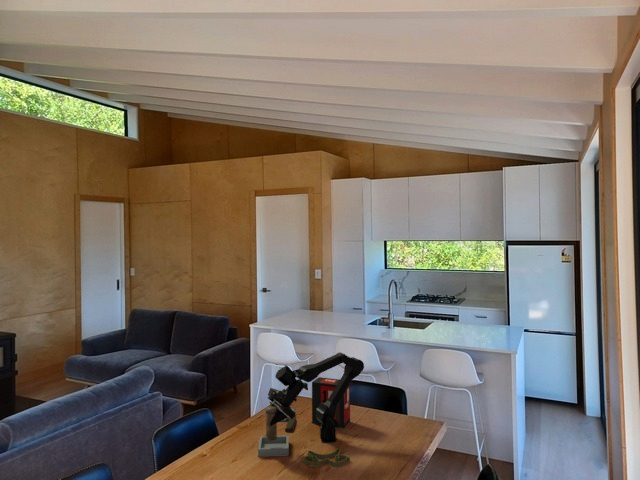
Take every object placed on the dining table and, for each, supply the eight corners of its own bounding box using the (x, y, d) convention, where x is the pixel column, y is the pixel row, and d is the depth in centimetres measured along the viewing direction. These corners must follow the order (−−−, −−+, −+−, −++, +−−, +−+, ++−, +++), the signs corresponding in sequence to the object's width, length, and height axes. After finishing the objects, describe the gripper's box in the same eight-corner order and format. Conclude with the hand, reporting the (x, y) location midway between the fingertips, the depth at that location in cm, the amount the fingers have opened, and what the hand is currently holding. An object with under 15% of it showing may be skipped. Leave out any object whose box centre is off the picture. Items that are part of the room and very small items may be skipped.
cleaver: (296, 432, 207) (296, 427, 207) (275, 433, 206) (275, 428, 206) (294, 410, 236) (294, 406, 236) (275, 411, 235) (275, 406, 235)
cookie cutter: (344, 452, 187) (344, 447, 187) (351, 466, 175) (351, 460, 175) (302, 455, 184) (302, 451, 184) (306, 470, 172) (306, 465, 172)
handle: (278, 436, 188) (277, 406, 189) (275, 440, 184) (275, 410, 184) (267, 435, 189) (267, 406, 189) (264, 440, 185) (264, 410, 185)
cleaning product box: (350, 421, 219) (349, 380, 219) (344, 428, 211) (343, 385, 211) (319, 416, 225) (318, 377, 225) (312, 423, 217) (311, 382, 217)
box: (288, 442, 196) (288, 435, 196) (288, 455, 183) (288, 448, 183) (260, 443, 195) (260, 436, 195) (258, 456, 182) (258, 449, 182)
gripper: (271, 375, 197) (248, 405, 192) (287, 387, 180) (262, 419, 175) (288, 390, 200) (265, 419, 195) (305, 403, 184) (281, 435, 179)
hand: (268, 423), depth 186 cm, fingers closed on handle, 4 cm apart
